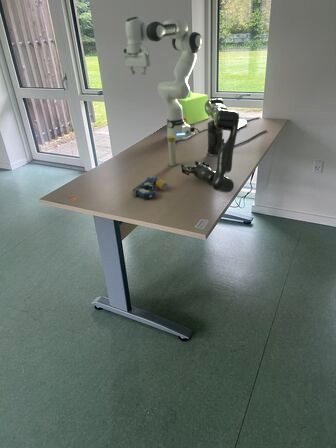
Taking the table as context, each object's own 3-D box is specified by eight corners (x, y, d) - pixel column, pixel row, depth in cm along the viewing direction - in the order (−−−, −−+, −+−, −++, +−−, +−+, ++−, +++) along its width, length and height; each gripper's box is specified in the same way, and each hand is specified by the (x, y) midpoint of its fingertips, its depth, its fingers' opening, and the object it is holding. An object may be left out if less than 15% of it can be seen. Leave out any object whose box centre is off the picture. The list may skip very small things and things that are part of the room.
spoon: (240, 137, 241) (240, 135, 240) (225, 137, 245) (225, 134, 244) (248, 121, 267) (248, 119, 266) (234, 121, 271) (234, 118, 270)
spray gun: (173, 183, 178) (149, 181, 184) (172, 176, 176) (148, 174, 182) (155, 202, 162) (129, 198, 169) (154, 194, 160) (128, 191, 167)
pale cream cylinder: (171, 166, 200) (169, 139, 192) (168, 164, 204) (166, 137, 195) (177, 165, 202) (175, 137, 193) (174, 162, 205) (172, 136, 196)
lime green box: (191, 115, 302) (190, 88, 290) (208, 118, 288) (208, 90, 276) (170, 121, 289) (168, 93, 277) (187, 125, 275) (185, 95, 263)
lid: (169, 142, 192) (168, 138, 191) (165, 140, 196) (165, 136, 195) (176, 140, 194) (176, 137, 193) (173, 138, 198) (173, 135, 196)
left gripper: (151, 48, 193) (154, 74, 200) (128, 49, 206) (131, 73, 213) (143, 49, 189) (146, 76, 197) (120, 50, 202) (123, 74, 209)
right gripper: (216, 163, 171) (199, 154, 184) (192, 169, 167) (176, 160, 179) (216, 177, 175) (200, 167, 188) (192, 183, 170) (177, 173, 183)
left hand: (138, 74), depth 205 cm, fingers open, 8 cm apart
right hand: (188, 164), depth 184 cm, fingers open, 8 cm apart
